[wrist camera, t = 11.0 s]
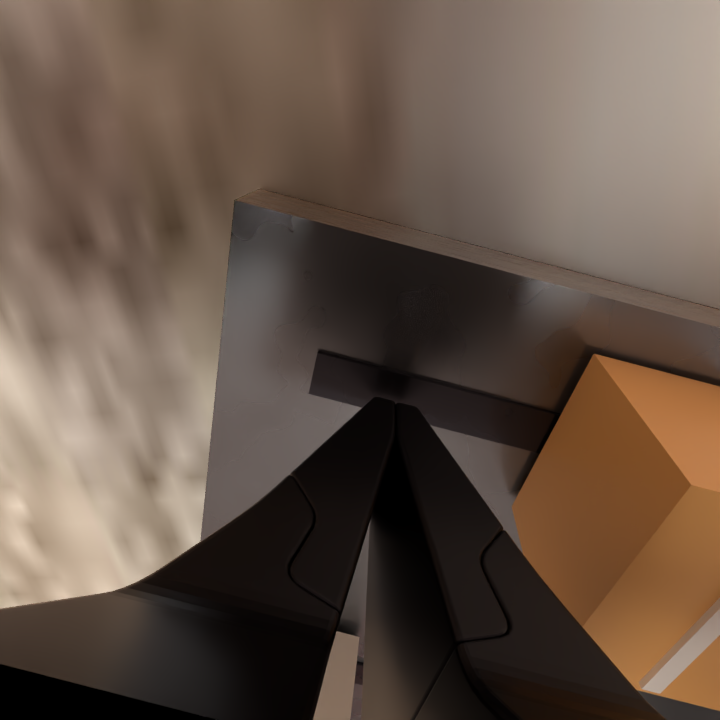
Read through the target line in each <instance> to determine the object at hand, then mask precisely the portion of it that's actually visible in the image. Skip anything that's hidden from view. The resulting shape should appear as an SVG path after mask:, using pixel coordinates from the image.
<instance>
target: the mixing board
mask: <svg viewBox="0 0 720 720" xmlns="http://www.w3.org/2000/svg"><path fill="white" fill-rule="evenodd" d="M593 354H597V355H601V356H605V357H609V358H613V359H616V360H620V361H624V362H628V363H632V364H636V365H639V366H643V367H647V368H651V369H655V370H659V371H662V372H666V373H670V374H674V375H678V376H682V377H685V378H689V379H693V380H697V381H701V382H705V383H708V384H712V385H716V386H720V310H719V309H715V308H711V307H707V306H704V305H700V304H696V303H692V302H688V301H685V300H681V299H677V298H673V297H669V296H666V295H662V294H658V293H654V292H650V291H647V290H643V289H639V288H635V287H631V286H628V285H624V284H620V283H616V282H612V281H609V280H605V279H601V278H597V277H593V276H590V275H586V274H582V273H578V272H574V271H571V270H567V269H563V268H559V267H555V266H552V265H548V264H544V263H540V262H536V261H533V260H529V259H525V258H521V257H517V256H514V255H510V254H506V253H502V252H498V251H495V250H491V249H487V248H483V247H479V246H476V245H472V244H468V243H464V242H460V241H457V240H453V239H449V238H445V237H441V236H438V235H434V234H430V233H426V232H422V231H419V230H415V229H411V228H407V227H403V226H400V225H396V224H392V223H388V222H384V221H381V220H377V219H373V218H369V217H365V216H362V215H358V214H354V213H350V212H346V211H343V210H339V209H335V208H331V207H327V206H324V205H320V204H316V203H312V202H308V201H305V200H301V199H297V198H293V197H289V196H286V195H282V194H278V193H274V192H270V191H267V190H263V189H258V190H256V191H254V192H252V193H249V194H247V195H245V196H243V197H241V198H238V199H236V200H235V202H234V212H233V222H232V232H231V242H230V252H229V262H228V272H227V282H226V292H225V302H224V312H223V322H222V332H221V342H220V352H219V362H218V372H217V382H216V392H215V402H214V412H213V422H212V432H211V442H210V452H209V462H208V472H207V482H206V492H205V502H204V512H203V522H202V532H201V541H202V540H204V539H205V538H206V537H208V536H209V535H211V534H212V533H214V532H215V531H217V530H218V529H220V528H221V527H223V526H224V525H226V524H227V523H229V522H230V521H232V520H233V519H234V518H236V517H237V516H239V515H240V514H241V513H243V512H244V511H246V510H247V509H248V508H250V507H251V506H253V505H254V504H255V503H256V502H258V501H259V500H260V499H261V498H262V497H264V496H265V495H266V494H267V493H268V492H270V491H271V490H272V489H273V488H274V487H276V486H277V485H278V484H279V483H280V482H281V481H282V480H283V479H284V478H285V477H286V476H288V475H290V473H291V472H292V471H293V470H294V469H296V468H297V467H298V466H299V465H300V464H301V463H302V462H303V461H304V460H305V459H307V458H308V457H309V456H310V455H311V454H312V453H313V452H314V451H315V450H316V449H318V448H319V447H320V446H321V445H322V444H323V443H324V442H325V441H326V440H327V439H329V438H330V437H331V436H332V435H333V434H334V433H335V432H336V431H337V430H338V429H339V428H341V427H342V426H343V425H344V424H345V423H346V422H347V421H348V420H349V419H350V418H352V417H353V416H354V415H355V414H356V413H357V412H358V411H359V410H360V409H361V408H363V407H364V406H365V405H366V404H367V403H368V402H369V401H370V400H371V399H372V398H374V397H380V398H384V399H388V400H392V401H394V402H395V405H396V404H397V403H404V404H407V405H411V406H415V407H417V408H418V409H419V410H420V412H421V413H422V415H423V416H424V417H425V419H426V420H427V421H428V423H429V424H430V426H431V427H432V428H433V430H434V431H435V433H436V434H437V435H438V437H439V438H440V440H441V441H442V442H443V444H444V445H445V447H446V448H447V449H448V451H449V452H450V454H451V455H452V456H453V458H454V459H455V461H456V462H457V463H458V465H459V466H460V467H461V469H462V470H463V472H464V473H465V474H466V476H467V477H468V479H469V480H470V481H471V483H472V484H473V486H474V487H475V488H476V490H477V491H478V493H479V494H480V495H481V497H482V498H483V500H484V501H485V502H486V504H487V505H488V506H489V508H490V509H491V511H492V512H493V513H494V515H495V516H496V518H497V519H498V520H499V522H500V523H501V525H502V526H503V530H505V531H507V533H508V534H509V535H510V537H511V538H512V540H513V541H514V542H515V544H516V545H517V547H518V548H519V549H520V551H521V552H522V548H521V544H520V539H519V535H518V531H517V527H516V523H515V519H514V514H513V510H512V505H513V503H514V501H515V499H516V497H517V496H518V494H519V492H520V490H521V488H522V486H523V484H524V482H525V481H526V479H527V477H528V475H529V473H530V471H531V469H532V468H533V466H534V464H535V462H536V460H537V458H538V456H539V455H540V453H541V451H542V449H543V447H544V445H545V443H546V442H547V440H548V438H549V436H550V434H551V432H552V430H553V428H554V427H555V425H556V423H557V421H558V419H559V417H560V415H561V414H562V412H563V410H564V408H565V406H566V404H567V402H568V401H569V399H570V397H571V395H572V393H573V391H574V389H575V387H576V386H577V384H578V382H579V380H580V378H581V376H582V374H583V373H584V371H585V369H586V367H587V365H588V363H589V361H590V360H591V358H592V356H593ZM369 527H370V523H369V526H368V530H367V533H366V536H365V540H364V543H363V546H362V550H361V553H360V556H359V559H358V563H357V566H356V569H355V573H354V576H353V579H352V582H351V586H350V589H349V592H348V596H347V599H346V602H345V605H344V609H343V612H342V615H341V618H340V622H339V625H338V628H337V631H338V632H342V633H346V634H350V635H354V636H357V637H359V646H358V655H357V664H356V673H355V682H354V691H353V700H352V709H351V718H350V720H361V709H362V686H363V663H364V641H365V618H366V595H367V572H368V549H369ZM522 553H523V552H522ZM637 691H638V692H639V693H640V694H641V695H642V696H643V698H644V699H645V700H646V701H647V702H648V703H649V704H650V705H651V706H652V707H653V708H654V709H655V710H657V711H658V712H659V713H660V714H661V715H662V716H663V717H664V718H666V719H667V720H720V711H718V710H714V709H710V708H706V707H702V706H698V705H694V704H690V703H686V702H682V701H678V700H674V699H670V698H666V697H662V696H658V695H654V694H650V693H646V692H643V691H639V690H637Z"/></svg>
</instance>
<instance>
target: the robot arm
mask: <svg viewBox="0 0 720 720" xmlns="http://www.w3.org/2000/svg"><path fill="white" fill-rule="evenodd" d="M369 523H370V527H369V549H368V572H367V595H366V618H365V641H364V663H363V686H362V709H361V720H667V719H666V718H664V717H663V716H662V715H661V714H660V713H659V712H658V711H657V710H655V709H654V708H653V707H652V706H651V705H650V704H649V703H648V702H647V701H646V700H645V699H644V698H643V696H642V695H641V694H640V693H639V692H638V691H637V690H636V689H635V688H634V687H633V686H632V684H631V683H630V682H629V681H628V680H627V679H626V677H625V676H624V675H623V674H622V673H621V671H620V670H619V669H618V668H617V667H616V666H615V664H614V663H613V662H612V661H611V660H610V659H609V657H608V656H607V655H606V654H605V653H604V652H603V650H602V649H601V648H600V647H599V646H598V645H597V643H596V642H595V641H594V640H593V639H592V638H591V636H590V635H589V634H588V633H587V632H586V631H585V629H584V628H583V627H582V626H581V625H580V624H579V622H578V621H577V620H576V619H575V618H574V617H573V615H572V614H571V613H570V612H569V611H568V610H567V608H566V607H565V606H564V605H563V604H562V602H561V601H560V600H559V599H558V598H557V596H556V595H555V594H554V593H553V592H552V590H551V589H550V588H549V587H548V585H547V584H546V583H545V582H544V581H543V579H542V578H541V577H540V576H539V574H538V573H537V572H536V570H535V569H534V568H533V567H532V565H531V564H530V563H529V561H528V560H527V559H526V557H525V556H524V555H523V553H522V552H521V551H520V549H519V548H518V547H517V545H516V544H515V542H514V541H513V540H512V538H511V537H510V535H509V534H508V533H507V531H505V530H503V526H502V525H501V523H500V522H499V520H498V519H497V518H496V516H495V515H494V513H493V512H492V511H491V509H490V508H489V506H488V505H487V504H486V502H485V501H484V500H483V498H482V497H481V495H480V494H479V493H478V491H477V490H476V488H475V487H474V486H473V484H472V483H471V481H470V480H469V479H468V477H467V476H466V474H465V473H464V472H463V470H462V469H461V467H460V466H459V465H458V463H457V462H456V461H455V459H454V458H453V456H452V455H451V454H450V452H449V451H448V449H447V448H446V447H445V445H444V444H443V442H442V441H441V440H440V438H439V437H438V435H437V434H436V433H435V431H434V430H433V428H432V427H431V426H430V424H429V423H428V421H427V420H426V419H425V417H424V416H423V415H422V413H421V412H420V410H419V409H418V408H417V407H415V406H411V405H407V404H404V403H397V404H396V405H395V402H394V401H392V400H388V399H384V398H380V397H374V398H372V399H371V400H370V401H369V402H368V403H367V404H366V405H365V406H364V407H363V408H361V409H360V410H359V411H358V412H357V413H356V414H355V415H354V416H353V417H352V418H350V419H349V420H348V421H347V422H346V423H345V424H344V425H343V426H342V427H341V428H339V429H338V430H337V431H336V432H335V433H334V434H333V435H332V436H331V437H330V438H329V439H327V440H326V441H325V442H324V443H323V444H322V445H321V446H320V447H319V448H318V449H316V450H315V451H314V452H313V453H312V454H311V455H310V456H309V457H308V458H307V459H305V460H304V461H303V462H302V463H301V464H300V465H299V466H298V467H297V468H296V469H294V470H293V471H292V472H291V473H290V475H288V476H286V477H285V478H284V479H283V480H282V481H281V482H280V483H279V484H278V485H277V486H276V487H274V488H273V489H272V490H271V491H270V492H268V493H267V494H266V495H265V496H264V497H262V498H261V499H260V500H259V501H258V502H256V503H255V504H254V505H253V506H251V507H250V508H248V509H247V510H246V511H244V512H243V513H241V514H240V515H239V516H237V517H236V518H234V519H233V520H232V521H230V522H229V523H227V524H226V525H224V526H223V527H221V528H220V529H218V530H217V531H215V532H214V533H212V534H211V535H209V536H208V537H206V538H205V539H204V540H202V541H201V542H199V543H198V544H196V545H195V546H193V547H192V548H190V549H189V550H187V551H186V552H184V553H183V554H181V555H180V556H178V557H177V558H175V559H174V560H172V561H171V562H169V563H168V564H166V565H165V566H163V567H162V568H160V569H159V570H157V571H156V572H154V573H153V574H151V575H149V576H147V577H145V578H143V579H142V580H140V581H138V582H136V583H133V584H131V585H129V586H126V587H124V588H121V589H118V590H115V591H112V592H107V593H101V594H95V595H88V596H81V597H75V598H68V599H62V600H55V601H49V602H42V603H35V604H29V605H22V606H16V607H9V608H3V609H0V720H313V718H314V714H315V710H316V706H317V703H318V699H319V695H320V691H321V687H322V683H323V679H324V675H325V671H326V667H327V663H328V660H329V656H330V652H331V649H332V645H333V642H334V639H335V635H336V632H337V628H338V625H339V622H340V618H341V615H342V612H343V609H344V605H345V602H346V599H347V596H348V592H349V589H350V586H351V582H352V579H353V576H354V573H355V569H356V566H357V563H358V559H359V556H360V553H361V550H362V546H363V543H364V540H365V536H366V533H367V530H368V526H369Z"/></svg>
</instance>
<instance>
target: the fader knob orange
mask: <svg viewBox="0 0 720 720" xmlns="http://www.w3.org/2000/svg"><path fill="white" fill-rule="evenodd" d="M512 510H513V514H514V519H515V523H516V527H517V531H518V535H519V539H520V544H521V548H522V552H523V555H524V556H525V557H526V559H527V560H528V561H529V563H530V564H531V565H532V567H533V568H534V569H535V570H536V572H537V573H538V574H539V576H540V577H541V578H542V579H543V581H544V582H545V583H546V584H547V585H548V587H549V588H550V589H551V590H552V592H553V593H554V594H555V595H556V596H557V598H558V599H559V600H560V601H561V602H562V604H563V605H564V606H565V607H566V608H567V610H568V611H569V612H570V613H571V614H572V615H573V617H574V618H575V619H576V620H577V621H578V622H579V624H580V625H581V626H582V627H583V628H584V629H585V631H586V632H587V633H588V634H589V635H590V636H591V638H592V639H593V640H594V641H595V642H596V643H597V645H598V646H599V647H600V648H601V649H602V650H603V652H604V653H605V654H606V655H607V656H608V657H609V659H610V660H611V661H612V662H613V663H614V664H615V666H616V667H617V668H618V669H619V670H620V671H621V673H622V674H623V675H624V676H625V677H626V679H627V680H628V681H629V682H630V683H631V684H632V686H633V687H634V688H635V689H636V690H639V691H643V692H646V693H650V694H654V695H658V696H662V697H666V698H670V699H674V700H678V701H682V702H686V703H690V704H694V705H698V706H702V707H706V708H710V709H714V710H718V711H720V386H716V385H712V384H708V383H705V382H701V381H697V380H693V379H689V378H685V377H682V376H678V375H674V374H670V373H666V372H662V371H659V370H655V369H651V368H647V367H643V366H639V365H636V364H632V363H628V362H624V361H620V360H616V359H613V358H609V357H605V356H601V355H597V354H593V356H592V358H591V360H590V361H589V363H588V365H587V367H586V369H585V371H584V373H583V374H582V376H581V378H580V380H579V382H578V384H577V386H576V387H575V389H574V391H573V393H572V395H571V397H570V399H569V401H568V402H567V404H566V406H565V408H564V410H563V412H562V414H561V415H560V417H559V419H558V421H557V423H556V425H555V427H554V428H553V430H552V432H551V434H550V436H549V438H548V440H547V442H546V443H545V445H544V447H543V449H542V451H541V453H540V455H539V456H538V458H537V460H536V462H535V464H534V466H533V468H532V469H531V471H530V473H529V475H528V477H527V479H526V481H525V482H524V484H523V486H522V488H521V490H520V492H519V494H518V496H517V497H516V499H515V501H514V503H513V505H512Z"/></svg>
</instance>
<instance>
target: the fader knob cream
mask: <svg viewBox="0 0 720 720" xmlns="http://www.w3.org/2000/svg"><path fill="white" fill-rule="evenodd" d="M358 646H359V637H357V636H354V635H350V634H346V633H342V632H338V631H337V632H336V635H335V639H334V642H333V645H332V649H331V652H330V656H329V660H328V663H327V667H326V671H325V675H324V679H323V683H322V687H321V691H320V695H319V699H318V703H317V706H316V710H315V714H314V718H313V720H350V718H351V709H352V700H353V691H354V682H355V673H356V664H357V655H358Z"/></svg>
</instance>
